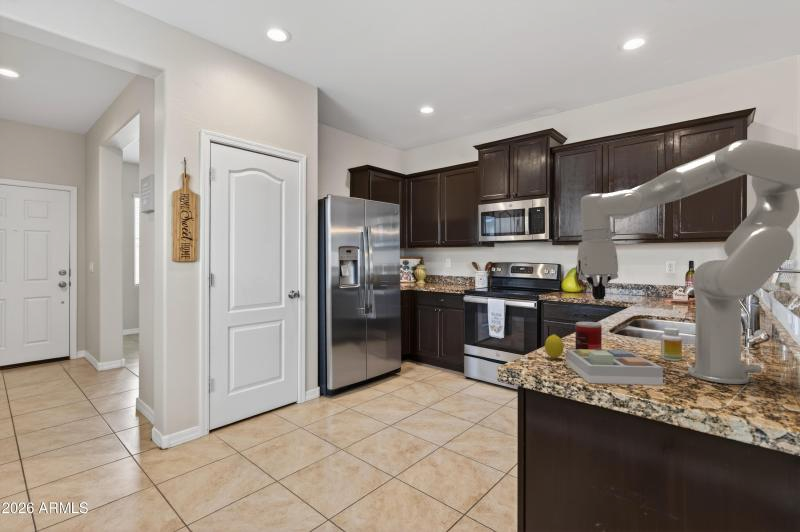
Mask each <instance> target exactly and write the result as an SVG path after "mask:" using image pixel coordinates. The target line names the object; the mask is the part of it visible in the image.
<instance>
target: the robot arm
mask: <svg viewBox="0 0 800 532" xmlns="http://www.w3.org/2000/svg"><path fill="white" fill-rule="evenodd" d="M744 175H747V176H751V185H752V186H751V187H752V189H753V190H754V191H753V192H754V193H755V197H756V202H755V205H754V206H753V209H752V210H751V211H750V212H749V214H748V215H747V216H746V218H744V220H743V221H742V222H741V223H740V224H739V225H738V226H737V227H736V229H735V230H733V232H732V233H730V235H729V236H728V237H727V239H726V240H725V243H724V247H723V250H724V253H725V255H726V256H727V258H726V259H715V260H709V261H705V262H703V263H701V264H700V265H698V266H697V267H696V268H695V271H694V272H693V276H692V289H693V294H694V304H695V322H694V323H695V325H694V326H695V332H694V334H695V335H694V337H695V338H694V341H695V343H694V344H695V345H694V346H695V347H694V352H695V353H694V364H695V365H694V366H691V367H689V368H687V373H688V374H689V375H690V376H692V377H693V378H696V379H700V380H704V381H709V382H711V383H719V384H729V385H742V384H747V383H749V382H750V380H749V376H748V375H747V374H748V373H761V372H762V366H760V365H759V364H747V363H745V362H742V308H741V301H740V299H745V298H748V297H750V296H752V295H754V294H755V293H756V292H758V290H760V289H761V288H762V287H763V286H764V285H765V284H766V282H768V281H769V280H770V279H771V277H772V276H773V275H774V274H775V273H776V272H777V271H778V270H779V269H780V268H781V267H782V266H783V265H784V263H785V262H786V261H787V260H788V259H789V258H790V256H791V254H792V252H793V249H794V241H795V239H794V237H793V234H791V232H790V230H788V229H790V227H791V225H793V223H794V222H795V220H796V218H797V217H798V215H799V212H800V201H799V197H798V193H797V190H799V189H800V149H797V148H792V147H788V146H784V145H780V144H775V143H769V142H766V141H761V140H755V139H754V140H753V139H742V140H741V139H740V140H737V141H734V142H732V143H730V144H728V145H727V146H725V147H722V148H721V149H719V150H716V151H713V152H711V153H709V154H706V155H704V156H701V157H699V158H697V159H694V160H692V161H689V162H687V163H683V164H681V165H678V166H676V167H674V168H671V169H670V170H667V171H664V172H663V173H662V174H659V175H658V176H656V177H655V178H653V179H650V180H648V181H646V182H645V183H644V184H643V183H642V184H641V185H638V186H635V187H634V188H630V189H620V190H616V191H612V192H607V193H602V192H600V193H599V192H598V193H596V192H595V193H591V194H590V193H589V194H586V195H583V196H582V197H581V200H580V217H581V219H580V220H581V221H580V222H581V242H578V249H577V259H576V260H577V261H576V263H577V264H576V271H577V274H578V280H581V281H585V282H587V283H588V284H589V285H590V286H591V289H592V290H591V291H592V293H591V294H592V298H593V300H596V301H604V300H605V297H606V286H607V285H608V283H609V282H610V281H611V280H616V279H618V278H619V274H618V272H619V261H618V260H619V259H618V254H617V248H616V244H615V241H614V240H613V238H614V237H616V235H617V233H616V231H612V229H611V228H612V226H611V224H612V222H611V218H612V219H615V220H624V219H626V218H629V217H632V216H634V215H637V214H639V213H641V212H644V211H647V210H649V209H653V208H655V207H657V206H661V205H663V204H664V205H665V204H667V203H671V202H676V201H678V200H681V199H684V198H686V197H689V196H692V195H694V194H697V193H699V192H702V191H704V190H707V189H710V188H713V187H716V186H719V185H721V184H723V183H725V182H729V181H731V180H734V179H736V178H739V177H741V176H744Z"/></svg>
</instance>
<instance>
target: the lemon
mask: <svg viewBox="0 0 800 532" xmlns="http://www.w3.org/2000/svg"><path fill="white" fill-rule="evenodd" d="M544 349H545V352H546V354H547V355H548V356H549V357H550V358H552V359H554V360H556V359H557V358H559V357H561V356H562V354H563V352H564V343H563V340H562V339H561V338H560V337H559V336H558V335H556V334H554V333H553V334H551V335H549V336H547V338H546V340H545V343H544Z"/></svg>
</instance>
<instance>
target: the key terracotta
mask: <svg viewBox="0 0 800 532" xmlns="http://www.w3.org/2000/svg"><path fill="white" fill-rule="evenodd" d="M621 363H622V364H624V365H626V366H647V361H645V360H643V359H641V358H639V357H621Z"/></svg>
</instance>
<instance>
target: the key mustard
mask: <svg viewBox="0 0 800 532" xmlns="http://www.w3.org/2000/svg"><path fill="white" fill-rule="evenodd" d="M589 351H596V350H590V349H578V355H579V356H580V357H589Z"/></svg>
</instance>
